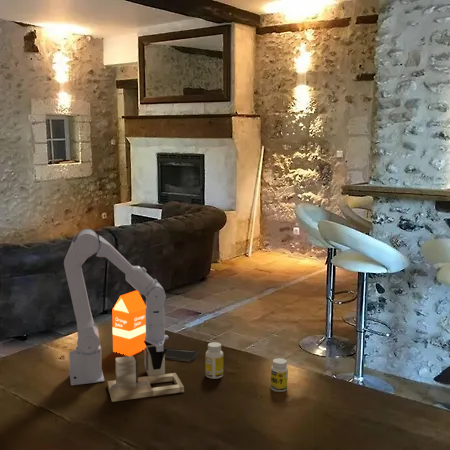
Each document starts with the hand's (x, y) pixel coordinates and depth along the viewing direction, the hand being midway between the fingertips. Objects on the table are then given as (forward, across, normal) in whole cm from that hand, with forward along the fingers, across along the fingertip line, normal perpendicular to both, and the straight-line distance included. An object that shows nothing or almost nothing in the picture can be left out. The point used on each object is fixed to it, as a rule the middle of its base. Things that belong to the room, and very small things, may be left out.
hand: (155, 365), depth 166 cm
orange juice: (+2, +20, +4) cm, 21 cm away
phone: (+3, +12, -8) cm, 15 cm away
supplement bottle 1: (+2, -8, -16) cm, 18 cm away
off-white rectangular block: (+2, 0, 0) cm, 2 cm away
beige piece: (+2, -10, +5) cm, 12 cm away
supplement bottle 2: (+2, -22, -32) cm, 38 cm away
